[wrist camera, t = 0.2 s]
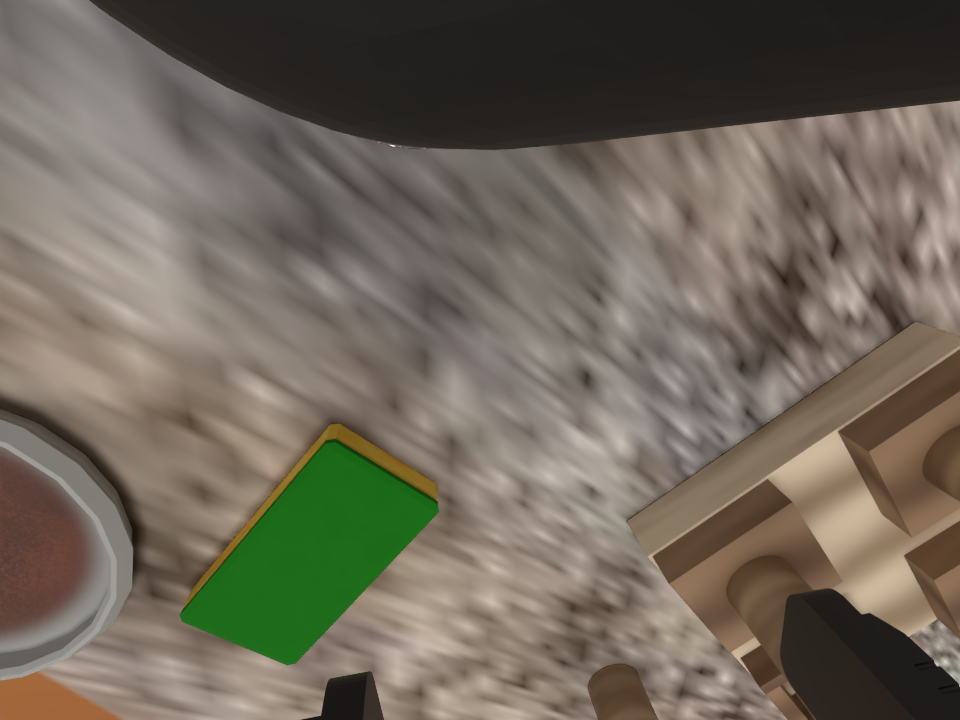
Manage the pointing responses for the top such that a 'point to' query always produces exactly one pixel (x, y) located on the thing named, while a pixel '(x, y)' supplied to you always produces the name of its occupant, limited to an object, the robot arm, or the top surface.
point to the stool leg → (620, 694)
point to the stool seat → (826, 509)
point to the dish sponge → (312, 547)
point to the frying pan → (55, 549)
